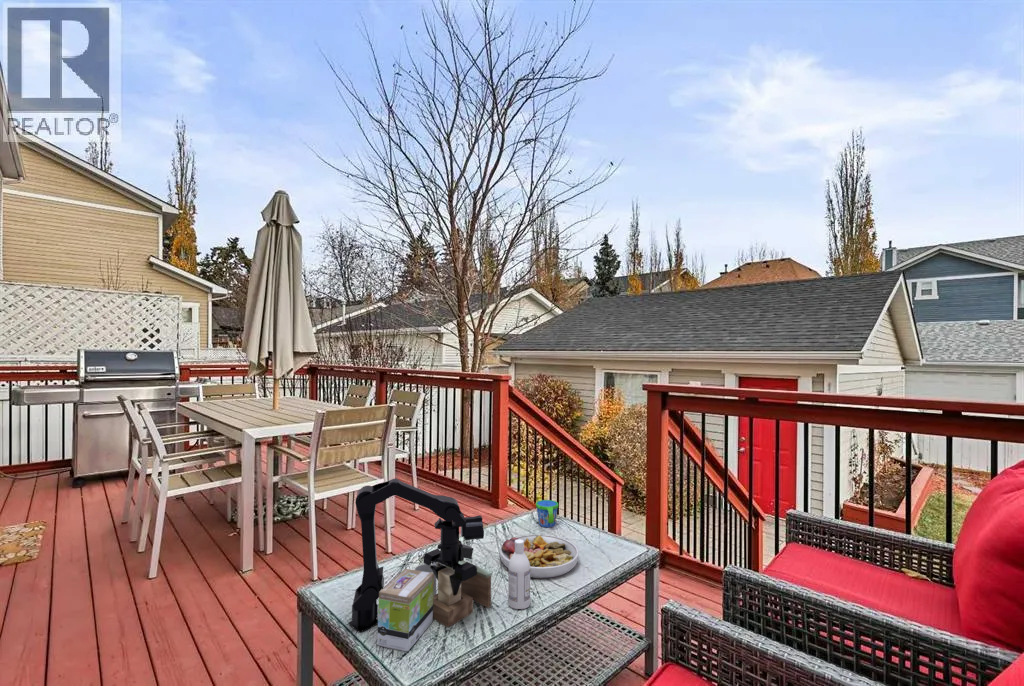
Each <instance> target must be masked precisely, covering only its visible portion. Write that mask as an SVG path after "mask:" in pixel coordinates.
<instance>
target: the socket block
mask: <svg viewBox="0 0 1024 686" xmlns="http://www.w3.org/2000/svg"><path fill="white" fill-rule="evenodd" d="M466 562H467V561H466V560H465V559H464V560H463V561H459V564H461V565H462V564H464V563H466ZM474 565H475V566H476V567H477V575H475V576H473V577H471V578H470V579H468V580H466V581H462V582H461V600H460V601H458V602H456V603H454V604H453V605H451V606H447V605H445V604H443V603H441V602H439V601H438V593H436V595H434V596H433V620H434V621H435V622H438V623H440V624H441V625H443V626H445V627H447V628H449V627H450V628H451V626H453V625H455V624H457V623H458V622H460V621H462V620H464V619H465V618H467V617H468V616H469V615H471V614H473V613H474V602H475V603H477V604H479V605H481V606H483V607H485V608H487V609H490V608H491V607H492V576H493V572H492V571H490V570H488V569H485V568H482V567H480V566H478V565H476V564H474Z"/></svg>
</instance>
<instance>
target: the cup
mask: <svg viewBox="0 0 1024 686" xmlns="http://www.w3.org/2000/svg"><path fill="white" fill-rule="evenodd" d="M430 566H432V563H431V564H430V565H427V564H425V563H423V564H419V565H416V566H415V568H414V569H413V570H417V571H423V572H430V573H433V571H432V569H430ZM436 594H437V578H436V576H435V574H434V585H433V596H434V595H436Z"/></svg>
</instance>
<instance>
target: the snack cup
mask: <svg viewBox="0 0 1024 686" xmlns="http://www.w3.org/2000/svg"><path fill="white" fill-rule="evenodd" d="M535 508H536V513H537V519H538V520H537V521H538V524H539V525H540V527H543V528H552V527H555V526H556V523H557V522H556V520H557V516H558V515H557V514H558V508H559V502H557V501H556V500H551V499H541V500H538V501H536V502H535Z"/></svg>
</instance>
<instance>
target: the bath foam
mask: <svg viewBox="0 0 1024 686" xmlns="http://www.w3.org/2000/svg"><path fill="white" fill-rule="evenodd" d="M507 575H508V584H507V585H508V595H507V596H508V599H507V600H508V606H509V607H510V608H512V609H514V610H518V609H521V610H525V609H527V608H528V607H530V604H531V577H530V563H529V560H528V558H527V556H526V555H525V553H524V541H523V540H521V539H518V540H515V553H514V554H513V556H512V557H511V559H510V562H509V569H508V574H507Z"/></svg>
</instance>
